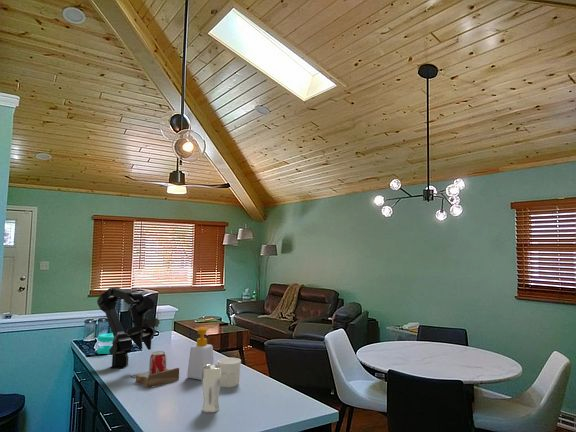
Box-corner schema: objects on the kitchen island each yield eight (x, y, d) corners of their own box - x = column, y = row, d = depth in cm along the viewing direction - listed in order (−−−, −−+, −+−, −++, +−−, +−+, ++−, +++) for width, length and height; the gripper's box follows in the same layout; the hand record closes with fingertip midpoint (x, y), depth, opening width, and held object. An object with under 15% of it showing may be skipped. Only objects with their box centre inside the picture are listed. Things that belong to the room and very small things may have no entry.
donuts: (103, 337, 216) (93, 335, 221) (102, 356, 215) (92, 353, 221) (120, 334, 224) (110, 332, 230) (119, 352, 223) (109, 350, 229)
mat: (130, 376, 180) (130, 375, 180) (148, 372, 187) (148, 371, 187) (141, 380, 175) (141, 379, 175) (159, 375, 181) (159, 375, 181)
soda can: (160, 384, 170) (161, 355, 171) (145, 382, 172) (146, 354, 173) (168, 379, 177) (169, 351, 178) (154, 377, 179) (155, 350, 180)
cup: (244, 382, 174) (244, 358, 175) (234, 389, 165) (234, 364, 166) (224, 379, 177) (224, 356, 178) (212, 386, 168) (213, 362, 169)
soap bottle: (221, 373, 187) (222, 324, 189) (203, 381, 174) (204, 329, 177) (204, 370, 191) (205, 323, 193) (185, 378, 179) (187, 327, 181)
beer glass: (202, 406, 146) (203, 364, 148) (221, 405, 147) (222, 364, 148) (199, 413, 139) (201, 369, 141) (219, 413, 140) (220, 369, 141)
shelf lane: (135, 382, 172) (136, 370, 173) (164, 374, 183) (165, 363, 184) (149, 387, 165) (150, 375, 166) (178, 379, 176) (179, 368, 177)
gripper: (146, 308, 181) (153, 342, 176) (162, 313, 199) (169, 343, 193) (123, 317, 181) (129, 351, 176) (140, 320, 198) (147, 352, 193)
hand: (145, 349), depth 184 cm, fingers open, 9 cm apart
